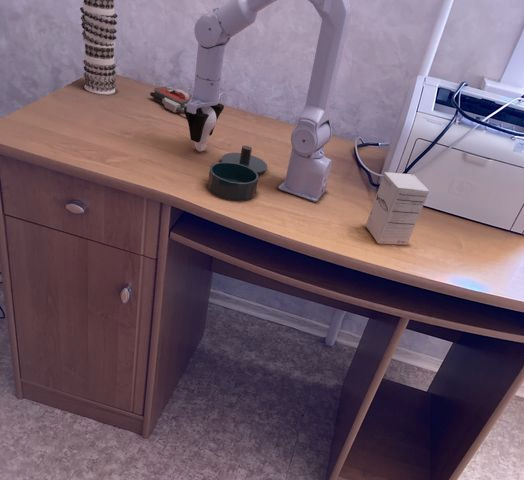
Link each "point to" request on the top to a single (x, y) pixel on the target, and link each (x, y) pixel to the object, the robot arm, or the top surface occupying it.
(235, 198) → the dark bowl
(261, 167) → the pan lid
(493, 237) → the top surface
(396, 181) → the white packaging box
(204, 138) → the lightbulb
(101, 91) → the decorative candle
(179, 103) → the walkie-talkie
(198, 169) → the top surface
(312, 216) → the top surface
